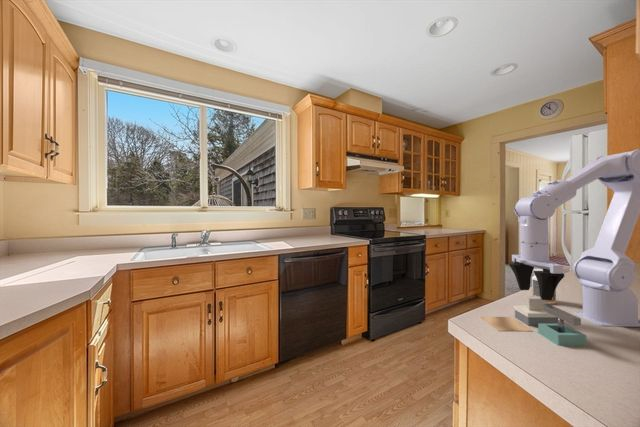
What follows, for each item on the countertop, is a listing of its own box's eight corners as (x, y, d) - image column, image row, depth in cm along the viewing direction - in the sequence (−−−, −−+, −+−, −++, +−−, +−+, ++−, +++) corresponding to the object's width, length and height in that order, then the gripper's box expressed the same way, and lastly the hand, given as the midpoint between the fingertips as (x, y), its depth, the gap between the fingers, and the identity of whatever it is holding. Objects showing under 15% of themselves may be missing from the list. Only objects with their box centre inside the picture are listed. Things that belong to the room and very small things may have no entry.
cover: (542, 309, 69) (542, 294, 69) (559, 317, 64) (559, 301, 64) (513, 308, 70) (513, 294, 70) (528, 317, 64) (527, 301, 64)
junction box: (542, 318, 69) (542, 309, 69) (558, 326, 64) (557, 317, 64) (515, 318, 70) (514, 309, 70) (528, 326, 65) (528, 316, 65)
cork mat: (511, 318, 70) (511, 316, 70) (533, 332, 62) (533, 330, 62) (480, 318, 70) (480, 316, 70) (498, 332, 62) (498, 330, 62)
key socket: (563, 333, 61) (563, 323, 61) (588, 347, 55) (588, 335, 55) (536, 333, 61) (536, 323, 61) (558, 346, 55) (557, 335, 55)
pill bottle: (560, 305, 78) (560, 272, 78) (539, 304, 79) (538, 272, 79) (548, 298, 83) (547, 268, 83) (528, 297, 84) (527, 268, 84)
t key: (542, 330, 62) (541, 304, 62) (551, 330, 62) (551, 304, 62) (572, 348, 54) (571, 318, 54) (583, 348, 54) (582, 318, 54)
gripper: (500, 239, 74) (501, 286, 74) (539, 246, 60) (540, 304, 60) (526, 239, 73) (527, 286, 74) (571, 246, 59) (572, 304, 59)
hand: (534, 294), depth 67 cm, fingers open, 7 cm apart
